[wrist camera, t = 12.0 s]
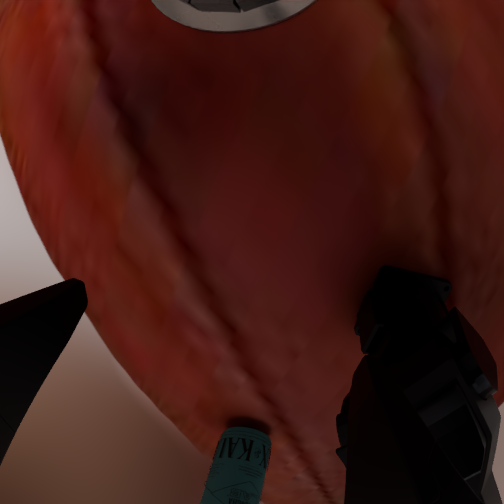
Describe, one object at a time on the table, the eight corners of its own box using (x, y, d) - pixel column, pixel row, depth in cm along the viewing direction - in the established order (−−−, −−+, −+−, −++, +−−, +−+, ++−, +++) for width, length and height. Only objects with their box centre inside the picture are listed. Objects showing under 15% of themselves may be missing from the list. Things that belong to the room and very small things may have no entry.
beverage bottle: (265, 443, 35) (235, 573, 18) (218, 430, 35) (175, 559, 18) (282, 424, 32) (252, 577, 14) (229, 409, 32) (181, 562, 15)
